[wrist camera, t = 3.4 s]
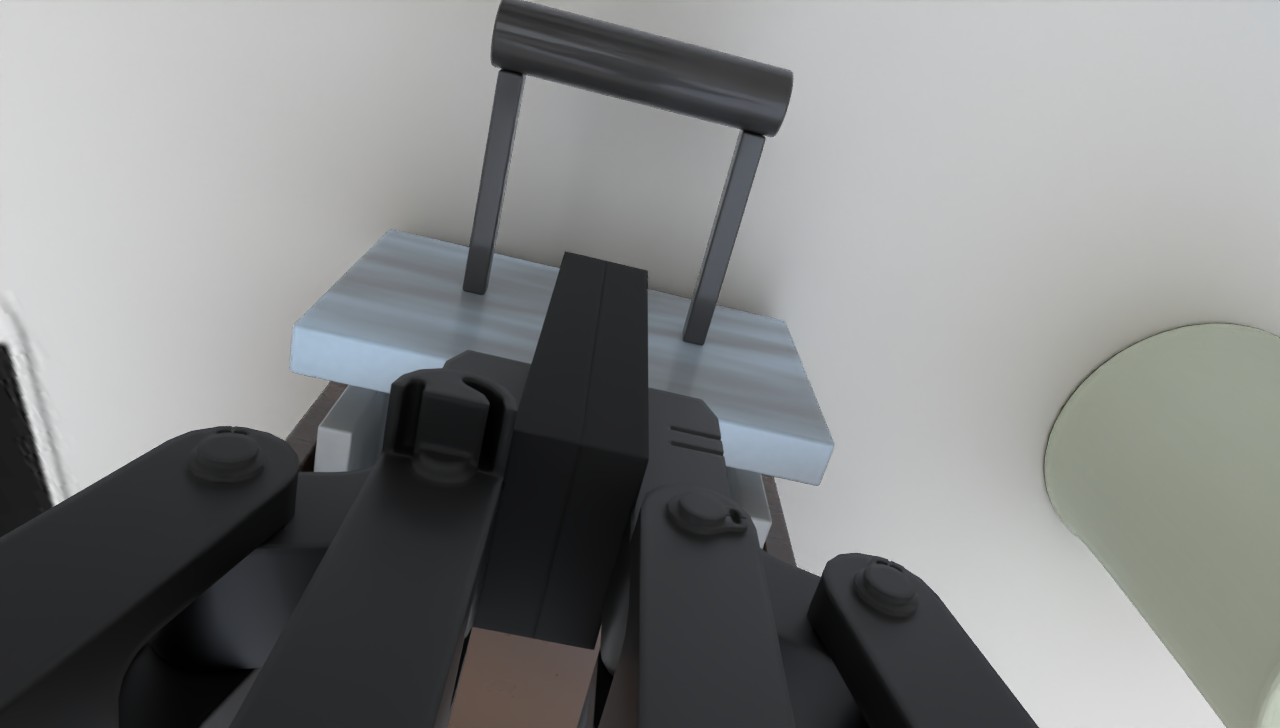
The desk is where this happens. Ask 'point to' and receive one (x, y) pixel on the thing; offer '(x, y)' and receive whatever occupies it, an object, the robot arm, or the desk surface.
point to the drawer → (521, 290)
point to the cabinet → (515, 665)
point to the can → (1186, 501)
